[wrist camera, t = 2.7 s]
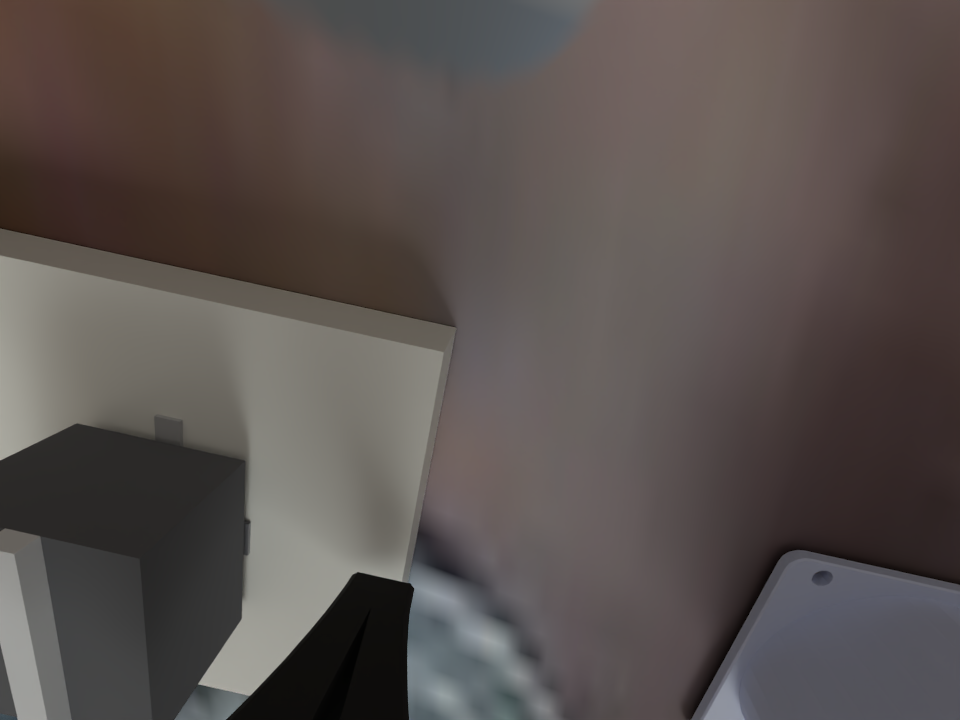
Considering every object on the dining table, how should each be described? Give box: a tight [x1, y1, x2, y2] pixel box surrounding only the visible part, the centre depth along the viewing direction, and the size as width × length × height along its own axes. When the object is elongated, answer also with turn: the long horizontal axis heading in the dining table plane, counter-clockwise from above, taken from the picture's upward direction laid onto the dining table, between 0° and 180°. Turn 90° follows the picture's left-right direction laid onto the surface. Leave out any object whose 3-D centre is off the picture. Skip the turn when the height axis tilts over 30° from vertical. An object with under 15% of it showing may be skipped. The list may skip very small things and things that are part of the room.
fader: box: [0, 423, 246, 720], centre depth 9 cm, size 4×5×3 cm
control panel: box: [0, 228, 456, 696], centre depth 12 cm, size 20×12×2 cm, turn 78°
